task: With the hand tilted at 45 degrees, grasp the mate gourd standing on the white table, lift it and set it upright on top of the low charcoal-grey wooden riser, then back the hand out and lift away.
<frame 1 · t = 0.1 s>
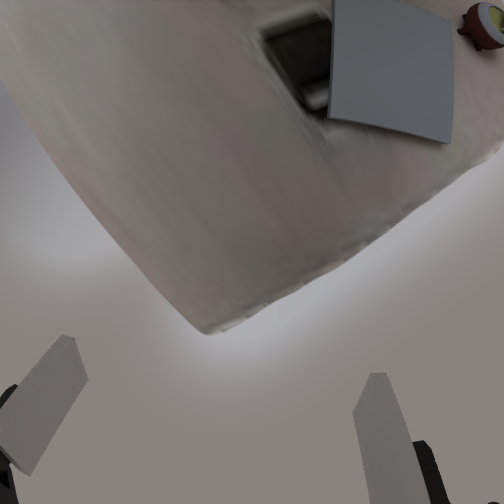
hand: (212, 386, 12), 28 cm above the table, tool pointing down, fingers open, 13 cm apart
riser: (389, 65, 29), on the table
mate gourd: (473, 34, 25), on the table
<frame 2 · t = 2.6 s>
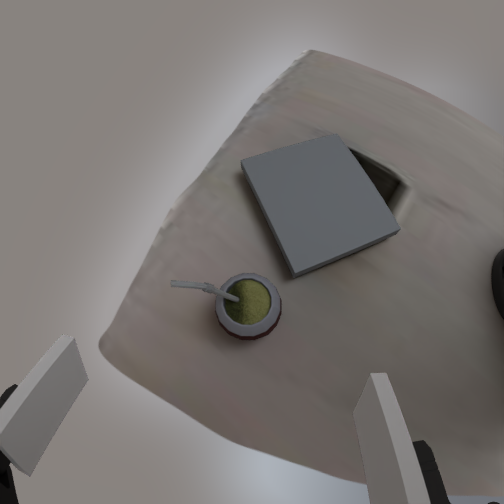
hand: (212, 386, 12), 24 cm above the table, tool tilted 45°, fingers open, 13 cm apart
riser: (316, 205, 42), on the table
mate gourd: (246, 317, 37), on the table
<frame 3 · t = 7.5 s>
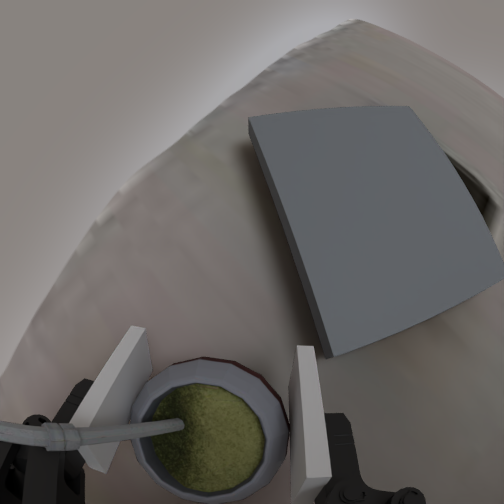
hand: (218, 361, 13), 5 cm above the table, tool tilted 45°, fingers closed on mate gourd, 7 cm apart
riser: (375, 215, 22), on the table
mate gourd: (213, 417, 16), on the table, touching gripper
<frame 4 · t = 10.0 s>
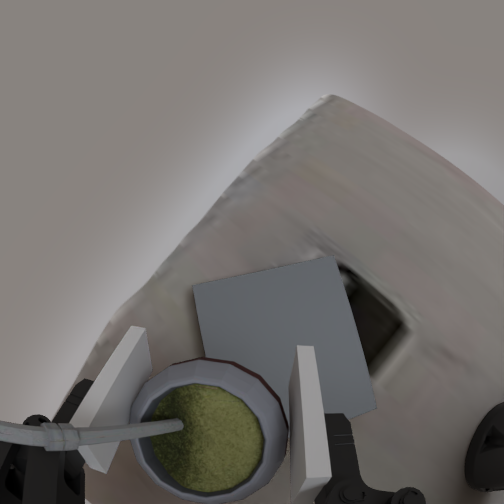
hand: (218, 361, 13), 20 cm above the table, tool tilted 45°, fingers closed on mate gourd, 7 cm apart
riser: (282, 353, 32), on the table
mate gourd: (213, 418, 16), point 15 cm above the table, touching gripper
when the fingers open (10 cm above the table, at t = 12.8 s): mate gourd drops 1 cm, resting on riser.
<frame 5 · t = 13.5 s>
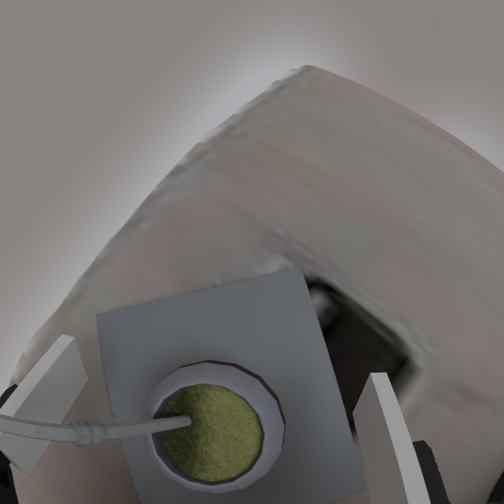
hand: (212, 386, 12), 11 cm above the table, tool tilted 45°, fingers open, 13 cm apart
riser: (227, 410, 21), on the table
mate gourd: (216, 415, 18), point 3 cm above the table, touching riser
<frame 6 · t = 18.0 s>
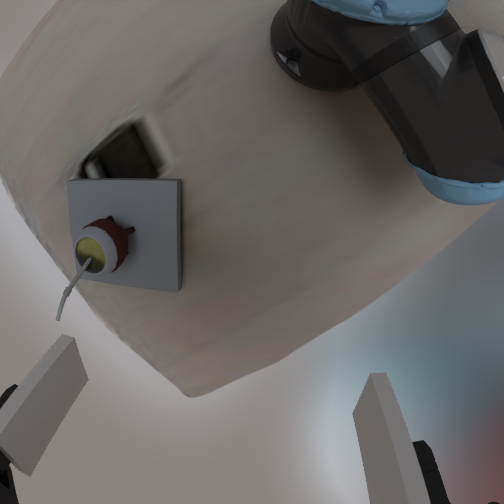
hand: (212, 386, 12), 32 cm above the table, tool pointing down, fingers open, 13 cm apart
riser: (128, 228, 43), on the table
mate gourd: (118, 238, 40), point 3 cm above the table, touching riser
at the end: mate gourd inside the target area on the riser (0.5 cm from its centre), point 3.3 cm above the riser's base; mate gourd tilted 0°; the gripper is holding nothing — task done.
